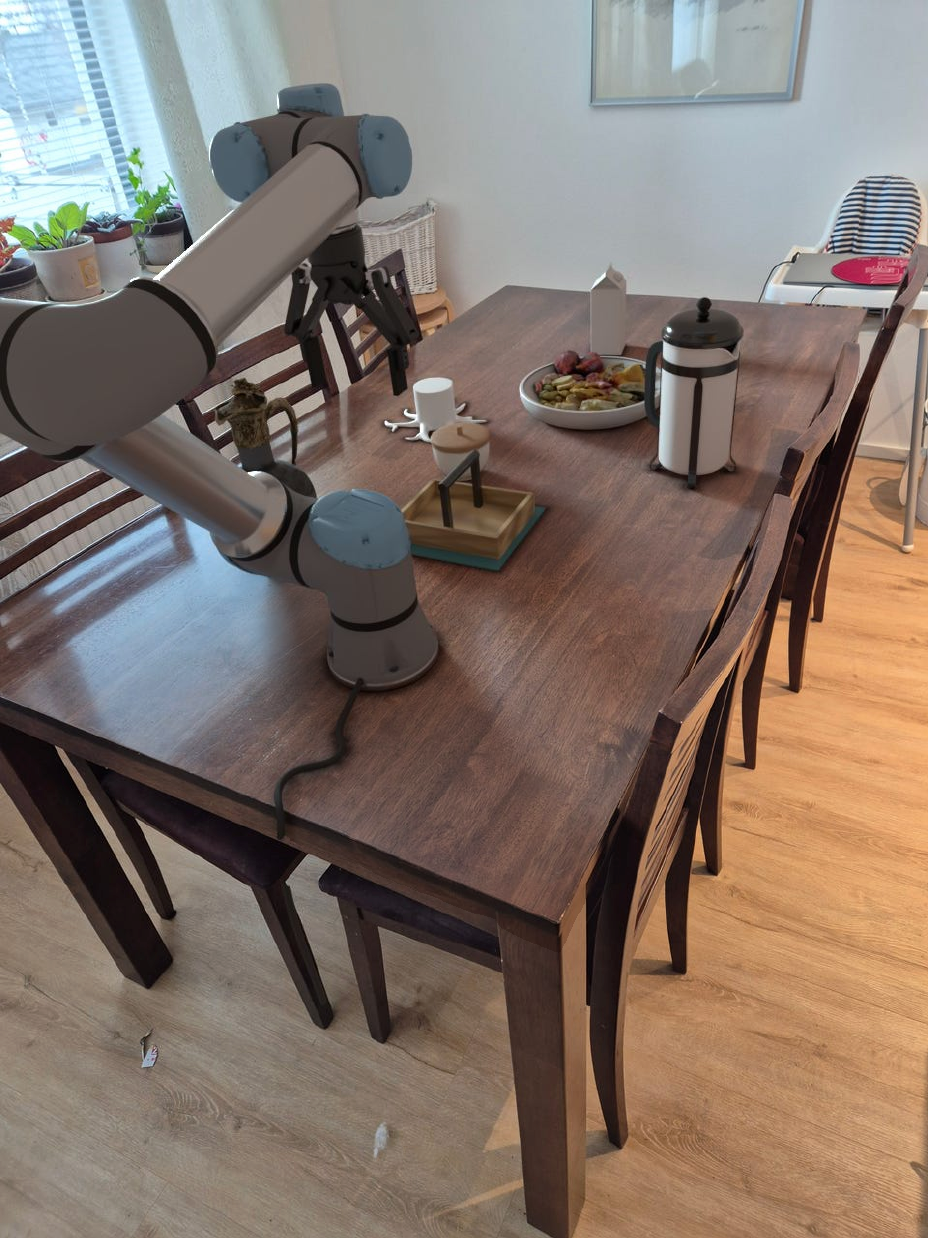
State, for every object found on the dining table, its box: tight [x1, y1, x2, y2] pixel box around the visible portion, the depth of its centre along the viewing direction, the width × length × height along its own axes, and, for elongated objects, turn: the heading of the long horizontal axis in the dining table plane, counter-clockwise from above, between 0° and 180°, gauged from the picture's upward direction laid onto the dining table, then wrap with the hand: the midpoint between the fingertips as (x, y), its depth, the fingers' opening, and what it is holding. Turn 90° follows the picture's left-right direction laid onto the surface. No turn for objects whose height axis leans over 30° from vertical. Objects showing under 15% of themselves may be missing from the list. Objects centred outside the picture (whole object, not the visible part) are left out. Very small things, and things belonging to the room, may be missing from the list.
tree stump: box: [384, 377, 488, 444], centre depth 177 cm, size 20×19×8 cm
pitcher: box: [213, 377, 318, 499], centre depth 134 cm, size 11×19×30 cm, turn 156°
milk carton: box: [589, 261, 627, 356], centre depth 198 cm, size 7×7×19 cm
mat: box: [410, 505, 547, 572], centre depth 144 cm, size 20×21×1 cm
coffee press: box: [644, 296, 745, 489], centre depth 145 cm, size 17×16×30 cm
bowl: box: [519, 349, 662, 431], centre depth 177 cm, size 30×30×8 cm
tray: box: [401, 450, 535, 560], centre depth 140 cm, size 15×19×11 cm
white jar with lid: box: [430, 423, 491, 482], centre depth 157 cm, size 11×11×9 cm
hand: (359, 387), depth 122 cm, fingers open, 13 cm apart
